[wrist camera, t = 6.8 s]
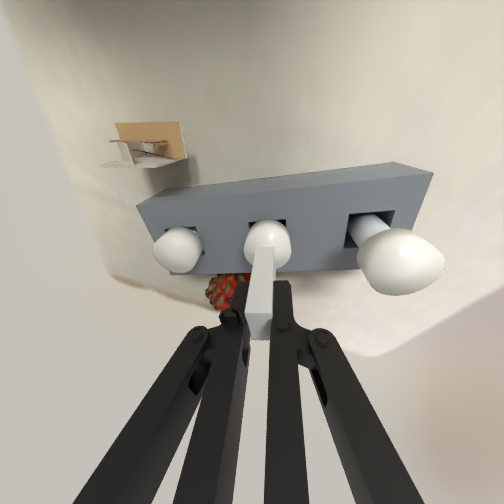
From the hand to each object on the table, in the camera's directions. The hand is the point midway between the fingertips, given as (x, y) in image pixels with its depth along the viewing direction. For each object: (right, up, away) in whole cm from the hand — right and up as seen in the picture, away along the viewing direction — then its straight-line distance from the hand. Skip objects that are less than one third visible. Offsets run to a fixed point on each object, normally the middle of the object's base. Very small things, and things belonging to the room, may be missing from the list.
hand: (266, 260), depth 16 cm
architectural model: (-12, +14, +6) cm, 19 cm away
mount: (+1, +6, +9) cm, 11 cm away
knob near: (+11, +4, +4) cm, 12 cm away
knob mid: (+1, +5, +8) cm, 10 cm away
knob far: (-9, +5, +10) cm, 14 cm away
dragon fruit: (-2, -3, +16) cm, 17 cm away
